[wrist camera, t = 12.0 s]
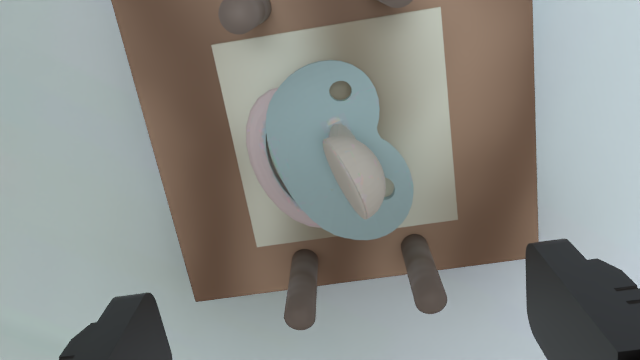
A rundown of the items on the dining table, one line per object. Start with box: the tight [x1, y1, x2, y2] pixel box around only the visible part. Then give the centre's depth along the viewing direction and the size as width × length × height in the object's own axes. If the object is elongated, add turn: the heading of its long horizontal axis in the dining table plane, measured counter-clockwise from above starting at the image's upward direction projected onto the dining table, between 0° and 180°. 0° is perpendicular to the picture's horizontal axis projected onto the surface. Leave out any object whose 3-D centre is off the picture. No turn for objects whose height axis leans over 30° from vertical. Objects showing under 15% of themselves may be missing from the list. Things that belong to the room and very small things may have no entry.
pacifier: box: [246, 60, 414, 240], centre depth 20 cm, size 7×6×6 cm
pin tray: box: [111, 0, 538, 330], centre depth 21 cm, size 16×14×6 cm
